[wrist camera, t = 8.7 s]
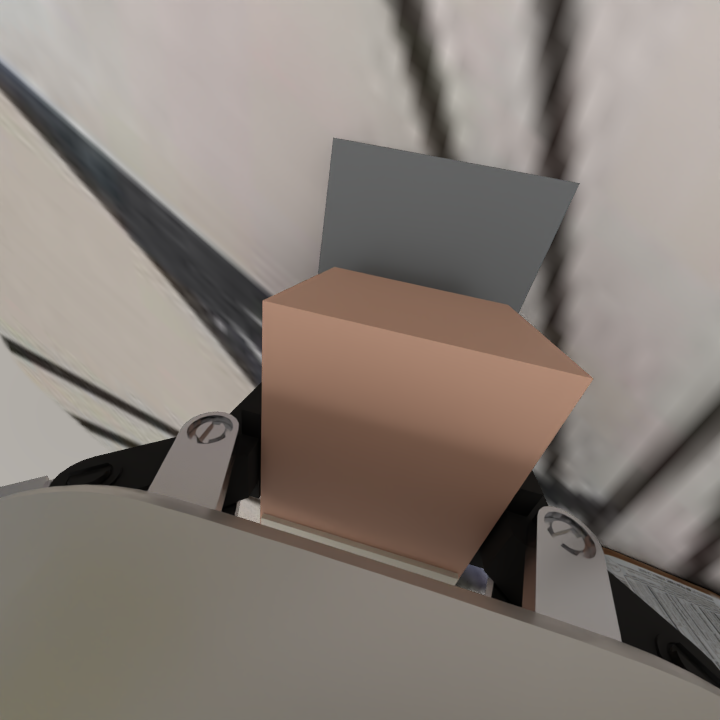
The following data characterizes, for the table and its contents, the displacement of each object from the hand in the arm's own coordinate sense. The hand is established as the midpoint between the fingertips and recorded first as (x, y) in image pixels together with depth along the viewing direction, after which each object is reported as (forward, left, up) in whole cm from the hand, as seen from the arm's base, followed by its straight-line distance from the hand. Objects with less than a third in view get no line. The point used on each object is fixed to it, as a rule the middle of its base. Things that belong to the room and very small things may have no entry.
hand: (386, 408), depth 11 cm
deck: (0, 0, -1) cm, 1 cm away
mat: (0, 0, -6) cm, 6 cm away
